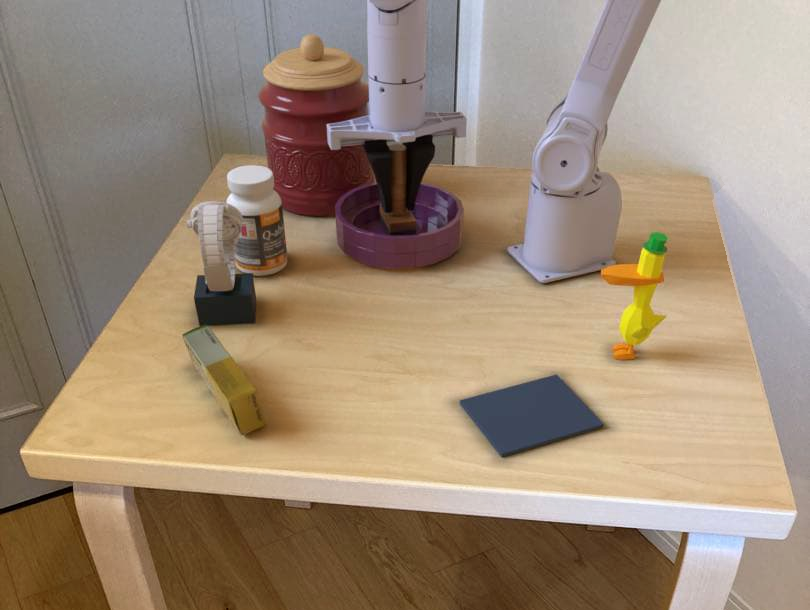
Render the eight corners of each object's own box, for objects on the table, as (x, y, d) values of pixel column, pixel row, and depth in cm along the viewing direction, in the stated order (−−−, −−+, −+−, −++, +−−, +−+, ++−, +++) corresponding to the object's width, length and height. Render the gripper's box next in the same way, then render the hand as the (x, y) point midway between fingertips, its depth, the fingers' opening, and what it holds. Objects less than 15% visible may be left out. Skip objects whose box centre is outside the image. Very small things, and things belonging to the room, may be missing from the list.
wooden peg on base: (405, 222, 97) (405, 137, 91) (416, 241, 94) (417, 155, 87) (379, 224, 97) (378, 139, 90) (390, 245, 94) (389, 158, 87)
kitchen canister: (248, 200, 103) (226, 39, 90) (314, 164, 110) (303, 10, 98) (331, 228, 98) (320, 62, 85) (395, 189, 105) (394, 30, 92)
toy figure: (588, 363, 79) (611, 243, 71) (584, 342, 82) (606, 223, 73) (659, 366, 79) (691, 246, 70) (654, 344, 81) (684, 226, 73)
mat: (556, 377, 78) (556, 373, 77) (603, 427, 73) (604, 424, 72) (459, 403, 75) (459, 400, 75) (501, 457, 70) (501, 453, 70)
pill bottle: (279, 280, 90) (268, 188, 82) (228, 275, 90) (213, 183, 83) (294, 255, 94) (285, 165, 86) (245, 250, 94) (232, 160, 87)
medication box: (192, 368, 79) (180, 332, 76) (219, 358, 79) (207, 321, 76) (240, 437, 71) (228, 400, 68) (269, 425, 72) (258, 387, 69)
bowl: (429, 205, 102) (430, 172, 99) (482, 257, 93) (485, 223, 90) (320, 226, 98) (317, 192, 95) (364, 283, 89) (363, 248, 86)
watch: (257, 290, 88) (242, 187, 80) (254, 333, 83) (238, 226, 75) (203, 293, 88) (183, 189, 80) (197, 335, 82) (175, 228, 74)
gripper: (333, 94, 80) (340, 231, 89) (478, 82, 82) (470, 216, 92) (319, 70, 84) (328, 202, 94) (457, 59, 87) (452, 189, 97)
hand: (397, 207), depth 93 cm, fingers closed on wooden peg on base, 2 cm apart
